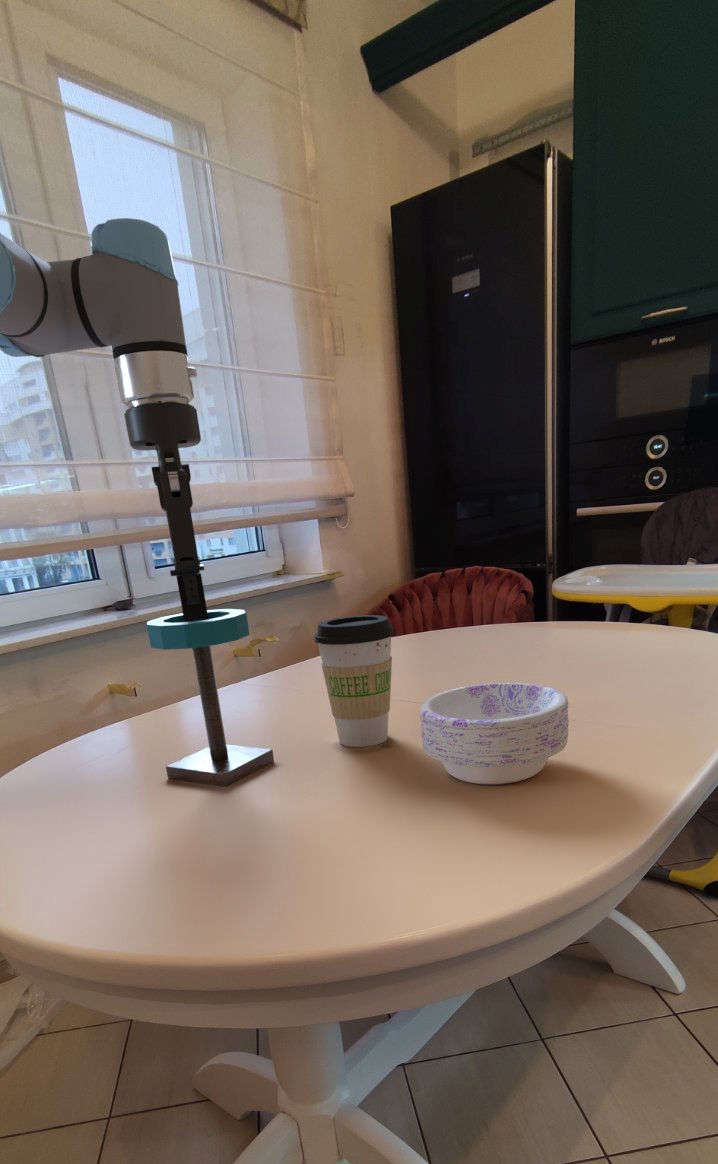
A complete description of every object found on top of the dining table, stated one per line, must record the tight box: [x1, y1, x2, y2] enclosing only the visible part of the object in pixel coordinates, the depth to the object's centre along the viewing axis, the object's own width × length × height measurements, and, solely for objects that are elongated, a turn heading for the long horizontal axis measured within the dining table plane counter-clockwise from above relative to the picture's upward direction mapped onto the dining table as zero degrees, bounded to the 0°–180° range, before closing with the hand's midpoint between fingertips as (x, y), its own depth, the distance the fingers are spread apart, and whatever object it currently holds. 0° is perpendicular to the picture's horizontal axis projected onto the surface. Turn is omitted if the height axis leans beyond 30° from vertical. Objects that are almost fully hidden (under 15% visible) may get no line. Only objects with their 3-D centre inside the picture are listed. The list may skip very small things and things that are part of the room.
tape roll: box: [146, 608, 250, 651], centre depth 81 cm, size 11×11×2 cm
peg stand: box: [165, 646, 275, 787], centre depth 84 cm, size 9×9×16 cm
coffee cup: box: [313, 614, 396, 748], centre depth 90 cm, size 10×10×15 cm
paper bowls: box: [419, 682, 569, 785], centre depth 77 cm, size 15×15×8 cm
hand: (198, 631), depth 85 cm, fingers closed on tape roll, 2 cm apart
